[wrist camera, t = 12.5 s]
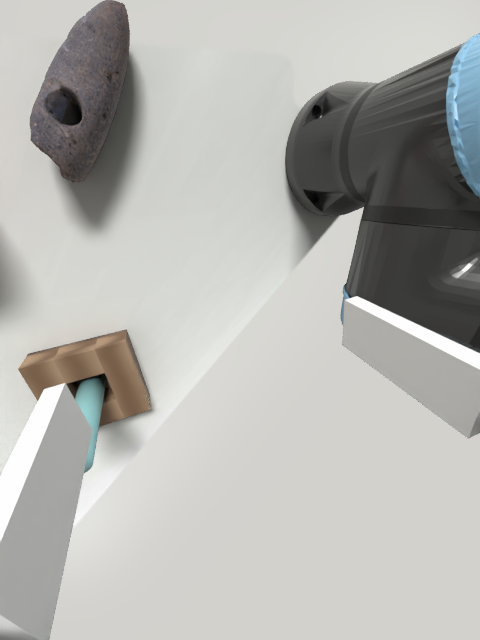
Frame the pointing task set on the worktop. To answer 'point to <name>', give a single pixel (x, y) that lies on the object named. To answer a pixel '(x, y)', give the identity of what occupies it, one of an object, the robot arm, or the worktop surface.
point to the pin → (91, 408)
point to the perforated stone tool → (82, 90)
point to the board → (93, 373)
